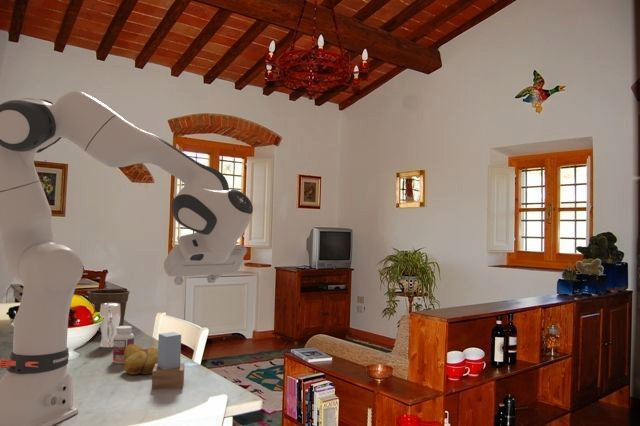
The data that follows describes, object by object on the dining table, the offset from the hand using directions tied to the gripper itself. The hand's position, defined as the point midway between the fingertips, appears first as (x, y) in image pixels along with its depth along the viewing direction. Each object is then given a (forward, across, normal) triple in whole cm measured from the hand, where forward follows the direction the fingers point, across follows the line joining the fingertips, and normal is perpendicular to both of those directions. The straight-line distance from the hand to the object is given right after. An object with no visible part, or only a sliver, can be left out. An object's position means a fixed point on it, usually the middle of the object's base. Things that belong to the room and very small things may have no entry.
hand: (194, 282), depth 135 cm
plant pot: (+88, -13, -46) cm, 100 cm away
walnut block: (+30, 0, +12) cm, 32 cm away
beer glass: (+68, -3, -26) cm, 73 cm away
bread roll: (+40, 0, +2) cm, 41 cm away
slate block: (+26, 0, +9) cm, 28 cm away
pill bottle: (+51, +1, -9) cm, 52 cm away
